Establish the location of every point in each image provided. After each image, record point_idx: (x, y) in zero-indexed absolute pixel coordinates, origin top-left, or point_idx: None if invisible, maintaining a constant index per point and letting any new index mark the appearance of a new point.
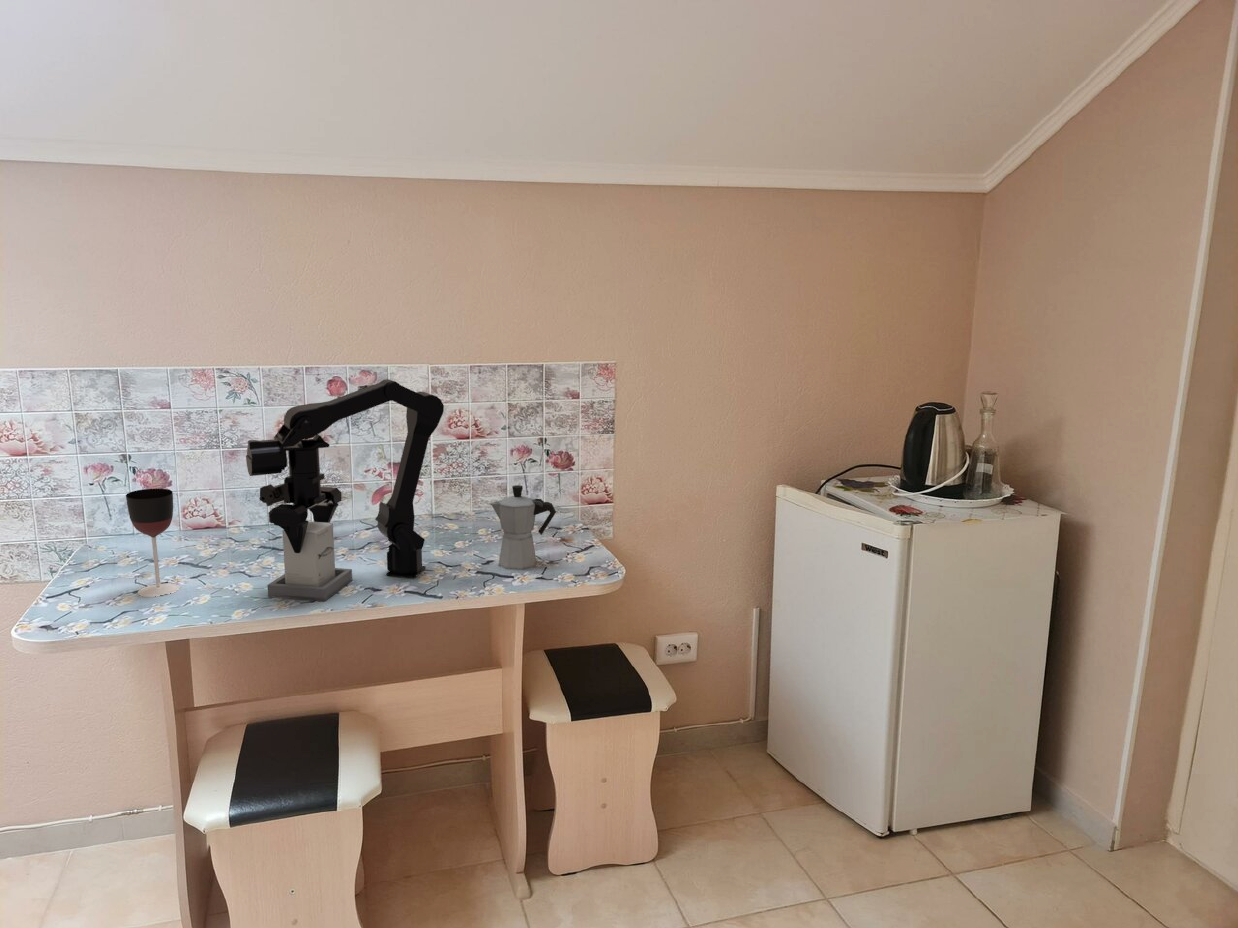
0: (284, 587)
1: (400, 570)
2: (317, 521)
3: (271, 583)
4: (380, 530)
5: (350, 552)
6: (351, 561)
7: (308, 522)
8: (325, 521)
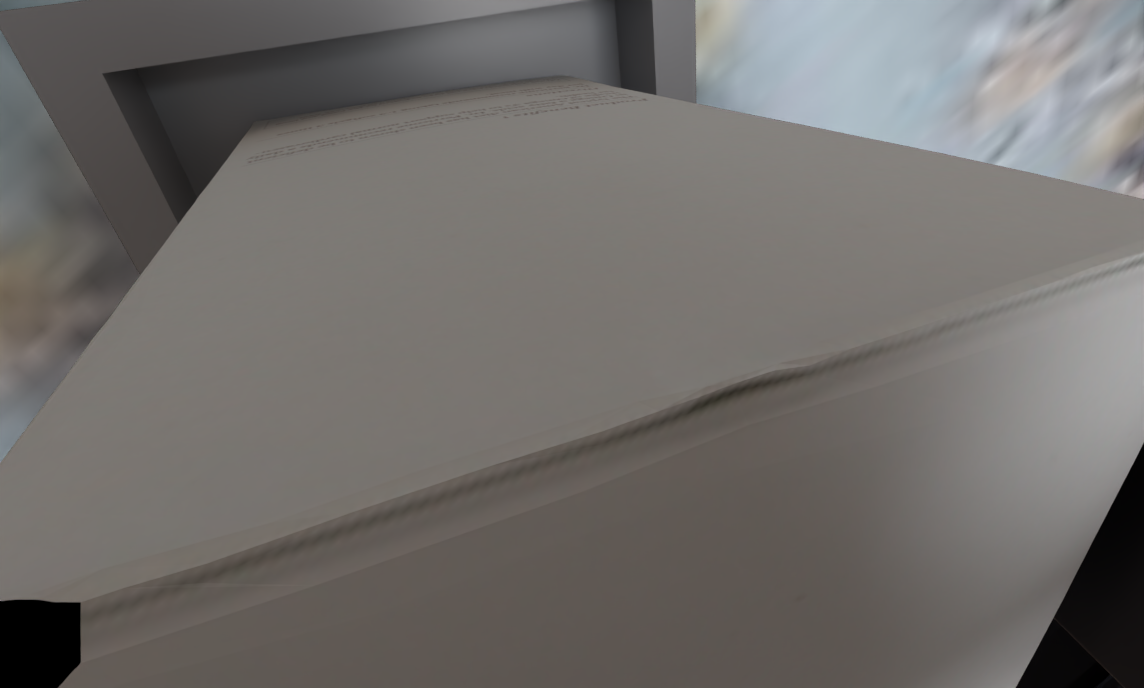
0: (124, 232)
1: None
2: (1141, 492)
3: (70, 32)
4: None
5: (1107, 3)
6: (953, 129)
7: (1047, 526)
8: (1089, 614)
